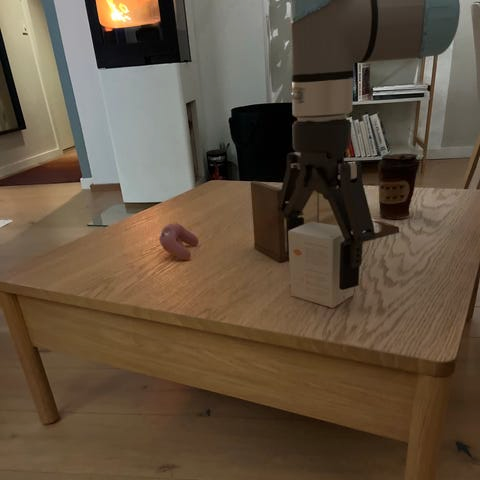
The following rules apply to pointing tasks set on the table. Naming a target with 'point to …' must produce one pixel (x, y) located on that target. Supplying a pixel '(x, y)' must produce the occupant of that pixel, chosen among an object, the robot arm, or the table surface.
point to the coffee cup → (397, 184)
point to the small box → (316, 264)
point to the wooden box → (274, 224)
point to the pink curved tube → (177, 240)
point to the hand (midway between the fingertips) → (320, 272)
